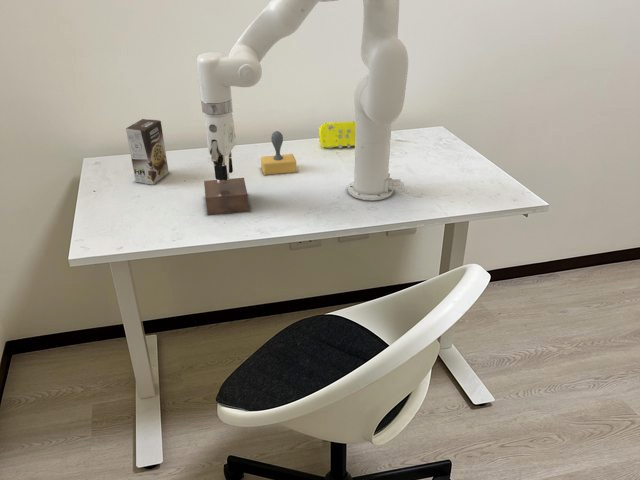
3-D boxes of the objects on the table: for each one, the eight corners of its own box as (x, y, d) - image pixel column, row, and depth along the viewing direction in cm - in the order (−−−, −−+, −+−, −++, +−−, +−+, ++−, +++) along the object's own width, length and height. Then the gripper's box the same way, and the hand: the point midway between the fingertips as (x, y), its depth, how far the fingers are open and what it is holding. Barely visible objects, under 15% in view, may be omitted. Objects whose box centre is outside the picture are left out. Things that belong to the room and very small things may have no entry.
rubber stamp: (264, 175, 186) (261, 136, 179) (261, 168, 190) (258, 129, 183) (296, 172, 188) (295, 133, 180) (293, 165, 192) (291, 126, 185)
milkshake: (231, 185, 164) (228, 149, 158) (212, 184, 165) (208, 147, 159) (237, 178, 168) (233, 142, 162) (218, 177, 169) (214, 141, 163)
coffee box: (154, 185, 181) (144, 130, 171) (134, 182, 183) (124, 128, 173) (170, 173, 188) (161, 120, 178) (151, 170, 189) (142, 117, 180)
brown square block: (245, 194, 176) (243, 177, 173) (249, 211, 167) (247, 194, 164) (206, 197, 174) (203, 180, 171) (207, 215, 165) (205, 197, 162)
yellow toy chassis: (321, 150, 202) (321, 124, 197) (319, 143, 206) (319, 118, 202) (369, 147, 203) (370, 122, 198) (366, 141, 208) (367, 116, 203)
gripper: (221, 118, 148) (229, 190, 158) (240, 97, 161) (246, 164, 172) (191, 116, 149) (200, 188, 159) (212, 95, 162) (220, 163, 173)
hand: (224, 175), depth 165 cm, fingers closed on milkshake, 4 cm apart
